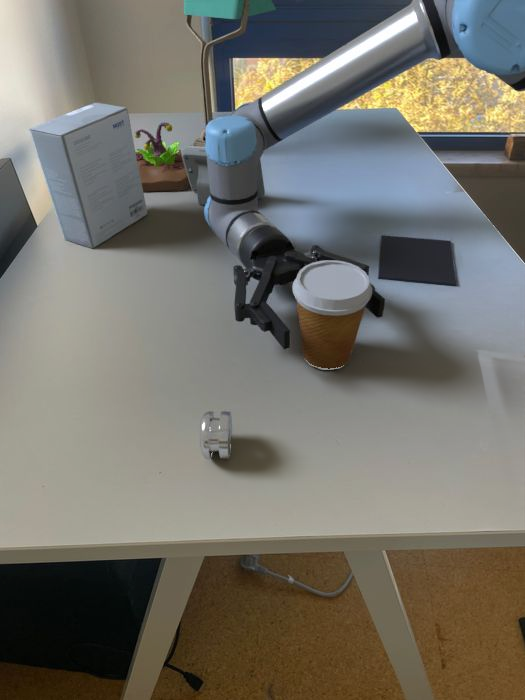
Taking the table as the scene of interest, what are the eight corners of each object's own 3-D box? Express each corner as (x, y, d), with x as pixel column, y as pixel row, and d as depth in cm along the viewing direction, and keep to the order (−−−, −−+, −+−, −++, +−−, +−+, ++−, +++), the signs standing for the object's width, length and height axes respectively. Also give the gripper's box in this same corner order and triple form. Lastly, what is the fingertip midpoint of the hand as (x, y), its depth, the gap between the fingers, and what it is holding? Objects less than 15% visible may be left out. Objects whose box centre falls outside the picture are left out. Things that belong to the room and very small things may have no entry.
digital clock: (269, 197, 106) (268, 145, 99) (248, 215, 100) (246, 161, 93) (202, 184, 112) (197, 134, 105) (179, 200, 106) (172, 148, 99)
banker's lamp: (179, 151, 128) (158, -23, 105) (230, 128, 140) (221, -32, 118) (230, 164, 121) (219, -20, 98) (279, 138, 133) (279, -29, 111)
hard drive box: (119, 206, 104) (97, 101, 91) (149, 215, 101) (130, 107, 88) (61, 240, 94) (27, 126, 81) (92, 250, 91) (62, 134, 78)
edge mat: (450, 242, 91) (450, 240, 91) (455, 286, 80) (456, 284, 80) (381, 236, 93) (381, 234, 93) (378, 278, 83) (378, 276, 82)
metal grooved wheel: (229, 468, 55) (226, 437, 52) (201, 467, 55) (197, 437, 52) (232, 432, 59) (230, 401, 56) (206, 431, 59) (202, 401, 56)
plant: (193, 195, 108) (187, 140, 100) (106, 190, 111) (94, 136, 103) (216, 160, 123) (213, 110, 115) (139, 156, 125) (130, 107, 118)
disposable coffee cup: (363, 336, 72) (374, 261, 64) (361, 383, 64) (373, 305, 57) (295, 329, 73) (297, 255, 65) (286, 375, 66) (287, 298, 58)
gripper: (329, 250, 85) (412, 319, 70) (186, 289, 77) (245, 377, 62) (333, 207, 80) (422, 272, 65) (179, 244, 72) (242, 328, 57)
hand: (336, 324), depth 63 cm, fingers open, 13 cm apart
